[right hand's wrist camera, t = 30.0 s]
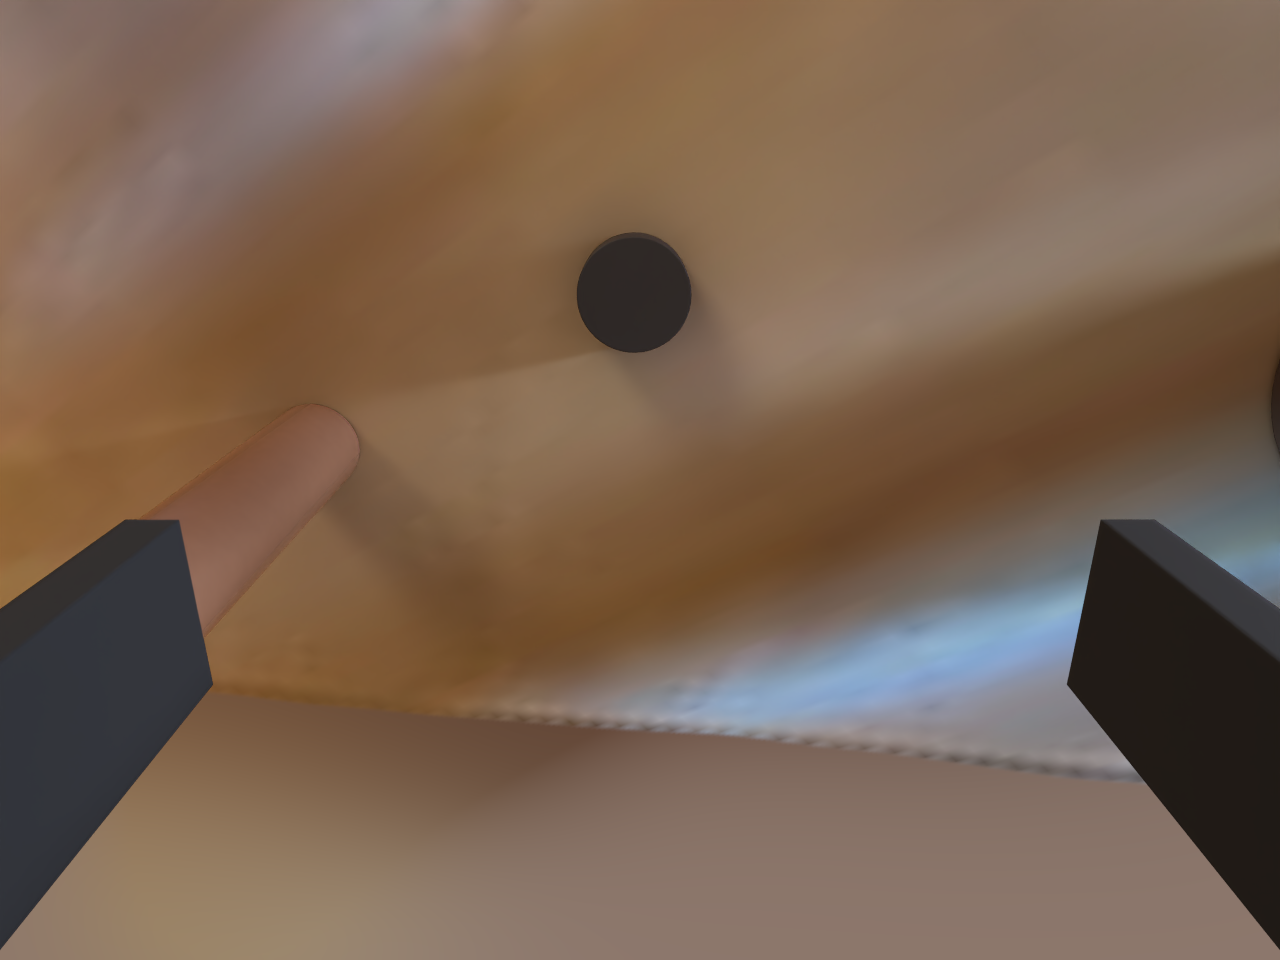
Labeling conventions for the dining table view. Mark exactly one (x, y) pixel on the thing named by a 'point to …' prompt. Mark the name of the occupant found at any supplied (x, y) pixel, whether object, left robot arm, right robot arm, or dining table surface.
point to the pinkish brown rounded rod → (258, 502)
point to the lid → (634, 292)
